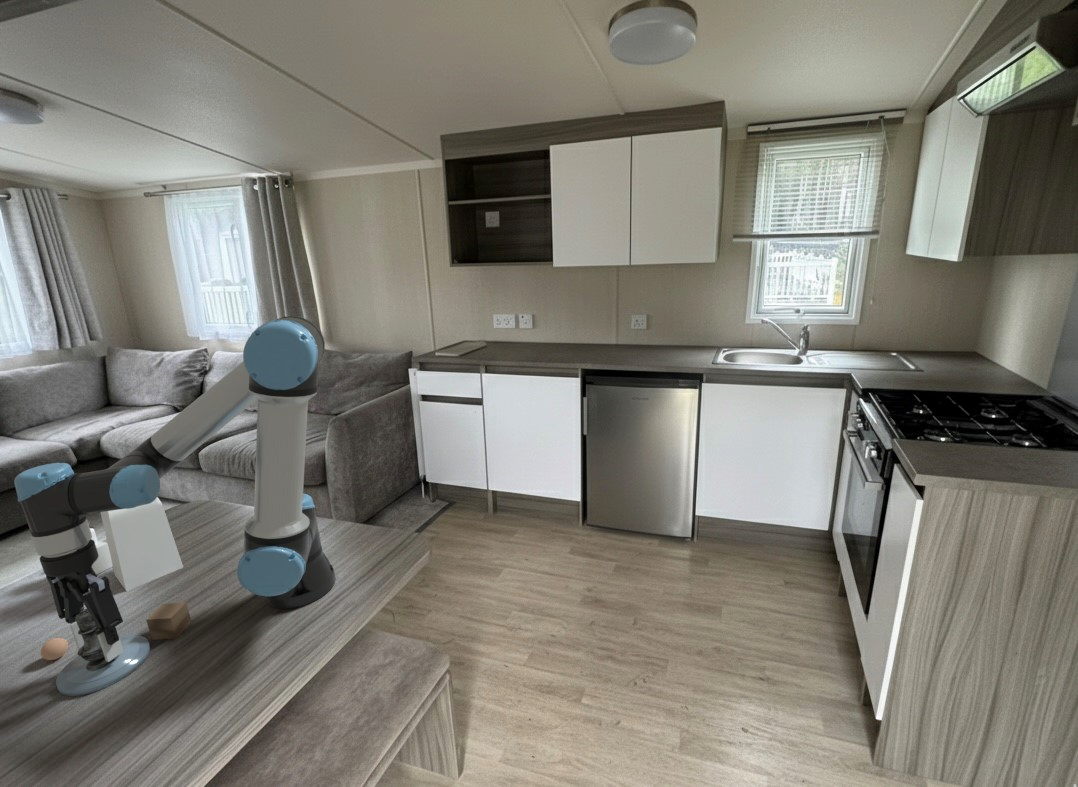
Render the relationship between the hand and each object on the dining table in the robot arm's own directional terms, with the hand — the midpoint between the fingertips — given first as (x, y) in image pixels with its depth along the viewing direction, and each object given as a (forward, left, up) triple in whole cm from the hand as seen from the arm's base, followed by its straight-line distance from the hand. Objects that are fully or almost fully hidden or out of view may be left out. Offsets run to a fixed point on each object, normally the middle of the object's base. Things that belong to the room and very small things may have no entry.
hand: (101, 652), depth 98 cm
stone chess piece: (0, 0, -2) cm, 2 cm away
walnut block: (-3, -11, -3) cm, 12 cm away
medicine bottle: (+42, -22, -3) cm, 48 cm away
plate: (0, 0, -3) cm, 3 cm away
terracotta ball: (+13, +1, -1) cm, 13 cm away
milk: (+26, -26, -3) cm, 37 cm away
